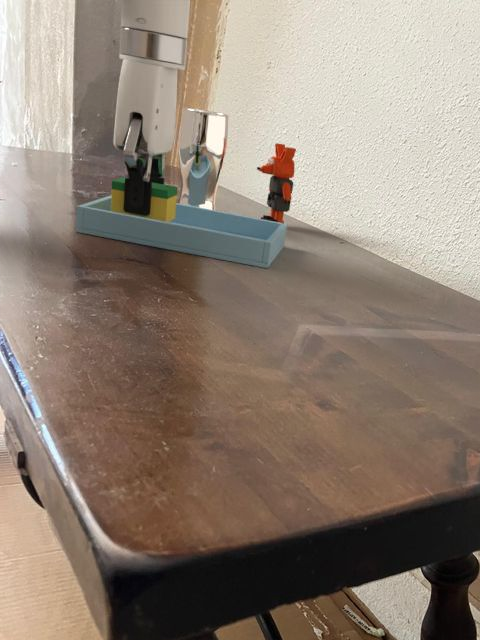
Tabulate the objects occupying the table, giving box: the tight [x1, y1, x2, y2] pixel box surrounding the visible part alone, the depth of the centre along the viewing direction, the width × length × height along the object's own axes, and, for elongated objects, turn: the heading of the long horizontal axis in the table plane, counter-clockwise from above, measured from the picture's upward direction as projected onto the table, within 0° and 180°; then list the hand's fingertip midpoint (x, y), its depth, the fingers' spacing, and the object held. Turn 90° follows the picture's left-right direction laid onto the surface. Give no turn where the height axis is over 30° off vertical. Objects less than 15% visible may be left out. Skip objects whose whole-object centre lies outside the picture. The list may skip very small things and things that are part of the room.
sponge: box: [110, 176, 179, 222], centre depth 94 cm, size 7×4×4 cm, turn 85°
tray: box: [75, 195, 288, 269], centre depth 96 cm, size 24×16×3 cm, turn 85°
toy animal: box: [256, 142, 297, 224], centre depth 115 cm, size 8×6×12 cm
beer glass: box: [178, 107, 230, 211], centre depth 109 cm, size 7×7×15 cm
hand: (143, 209), depth 94 cm, fingers closed on sponge, 4 cm apart
